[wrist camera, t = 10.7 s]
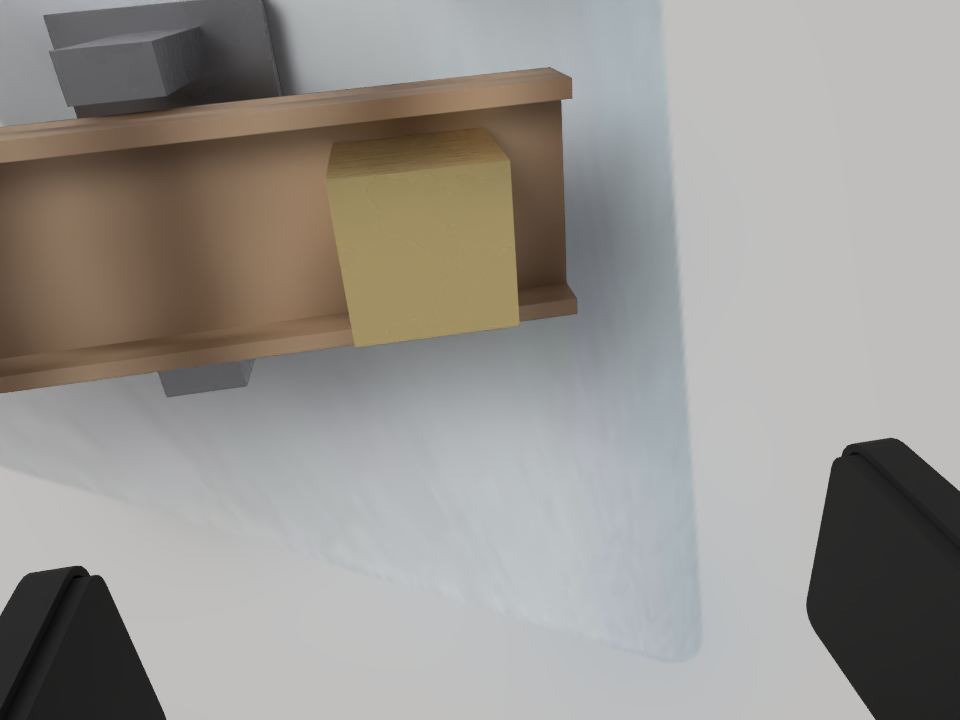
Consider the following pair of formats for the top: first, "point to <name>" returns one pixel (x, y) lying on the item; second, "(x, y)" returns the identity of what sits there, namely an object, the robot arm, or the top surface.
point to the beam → (234, 223)
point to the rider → (424, 235)
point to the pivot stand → (167, 86)
